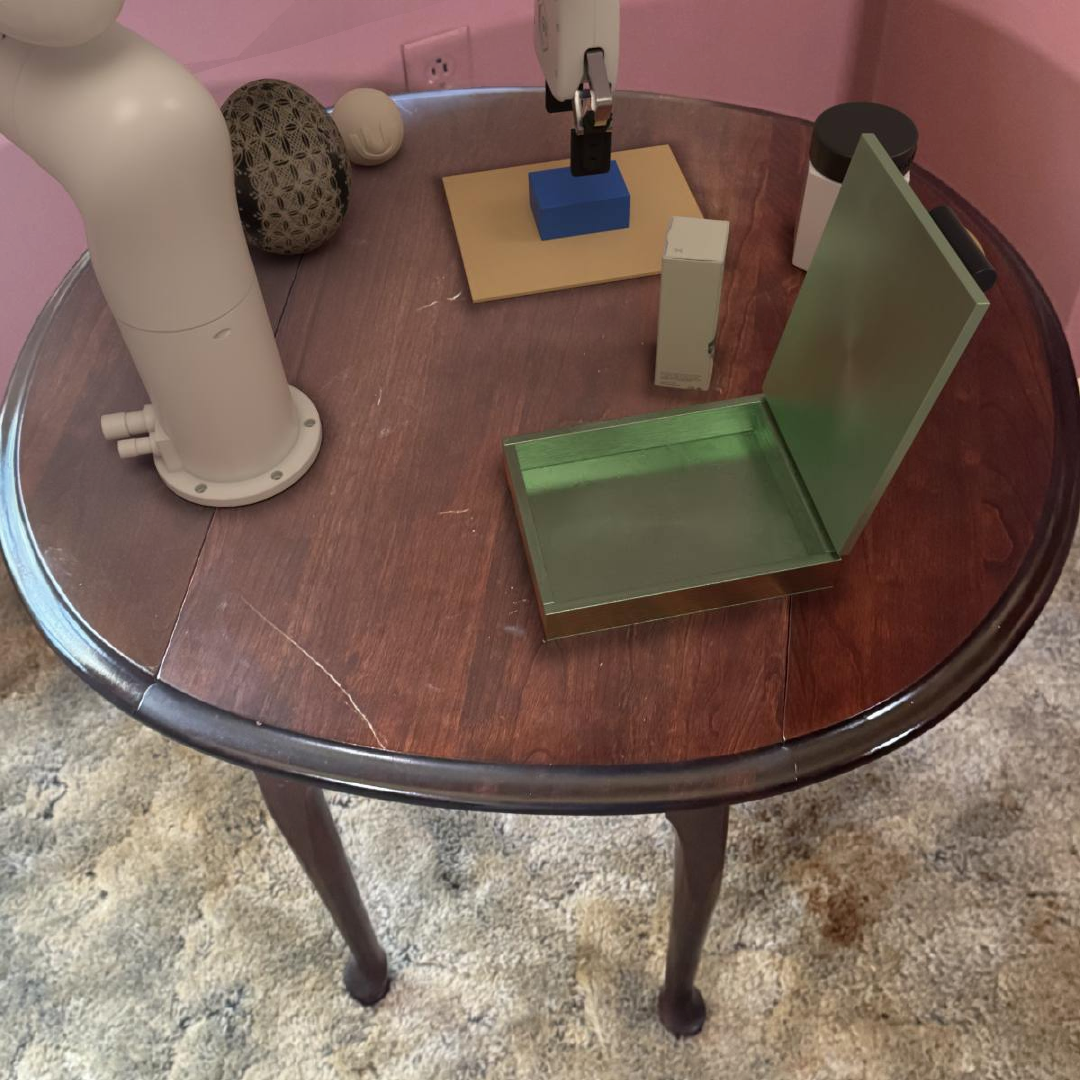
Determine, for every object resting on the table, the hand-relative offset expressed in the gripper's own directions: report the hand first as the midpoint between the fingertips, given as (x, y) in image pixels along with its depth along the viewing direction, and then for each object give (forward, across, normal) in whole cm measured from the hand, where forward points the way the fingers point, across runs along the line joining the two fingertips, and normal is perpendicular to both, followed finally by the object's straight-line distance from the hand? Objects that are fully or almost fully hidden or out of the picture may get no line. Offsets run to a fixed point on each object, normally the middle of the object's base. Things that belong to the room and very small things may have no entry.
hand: (576, 140), depth 93 cm
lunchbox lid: (-5, +35, +9) cm, 37 cm away
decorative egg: (+10, -4, -24) cm, 27 cm away
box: (+9, +20, +4) cm, 22 cm away
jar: (+8, +9, +21) cm, 25 cm away
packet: (+8, -1, +1) cm, 8 cm away
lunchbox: (+9, +35, -2) cm, 36 cm away
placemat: (+9, -1, 0) cm, 9 cm away
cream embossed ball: (+9, -15, -16) cm, 24 cm away
